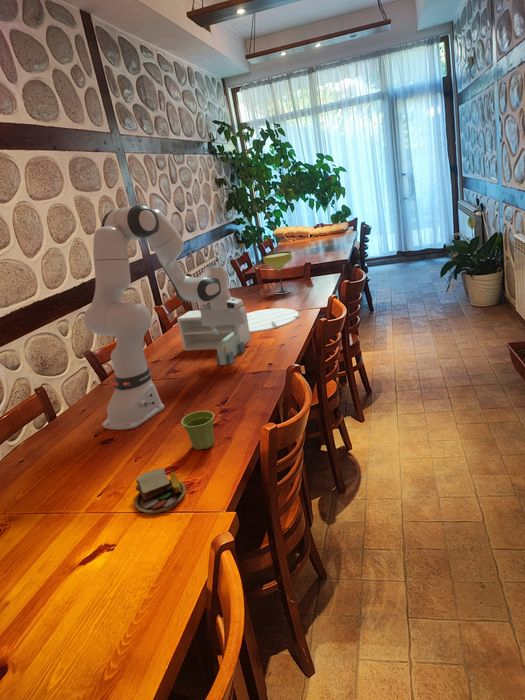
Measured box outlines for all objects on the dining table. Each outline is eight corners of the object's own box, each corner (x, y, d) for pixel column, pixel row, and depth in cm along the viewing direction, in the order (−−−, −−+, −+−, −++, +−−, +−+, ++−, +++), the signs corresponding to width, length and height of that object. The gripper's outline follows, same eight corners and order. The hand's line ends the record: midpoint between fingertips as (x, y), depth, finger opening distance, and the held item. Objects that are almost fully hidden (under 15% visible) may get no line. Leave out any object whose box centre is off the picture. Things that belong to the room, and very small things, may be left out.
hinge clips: (230, 364, 195) (228, 355, 194) (217, 365, 197) (215, 355, 196) (245, 350, 209) (243, 341, 208) (232, 351, 211) (230, 342, 210)
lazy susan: (312, 319, 239) (311, 313, 238) (241, 339, 227) (239, 332, 226) (280, 306, 275) (279, 300, 274) (217, 322, 263) (216, 317, 262)
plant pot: (204, 433, 143) (198, 408, 140) (226, 440, 137) (220, 413, 134) (181, 449, 136) (174, 422, 133) (203, 456, 130) (197, 429, 127)
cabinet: (241, 348, 213) (235, 314, 207) (184, 350, 224) (177, 318, 219) (250, 339, 223) (245, 307, 218) (196, 341, 234) (189, 311, 229)
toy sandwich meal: (137, 523, 108) (132, 506, 106) (133, 491, 120) (128, 476, 118) (190, 504, 111) (186, 488, 110) (181, 475, 123) (177, 460, 122)
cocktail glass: (283, 288, 318) (278, 251, 310) (302, 290, 304) (296, 251, 296) (263, 295, 308) (257, 257, 300) (281, 297, 294) (275, 257, 286)
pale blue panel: (227, 364, 194) (223, 344, 191) (220, 365, 196) (216, 344, 193) (244, 349, 210) (240, 330, 207) (236, 349, 211) (233, 330, 208)
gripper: (195, 306, 196) (202, 338, 200) (239, 303, 188) (245, 336, 193) (202, 302, 202) (208, 333, 206) (245, 299, 194) (251, 331, 198)
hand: (226, 334), depth 199 cm, fingers open, 8 cm apart
